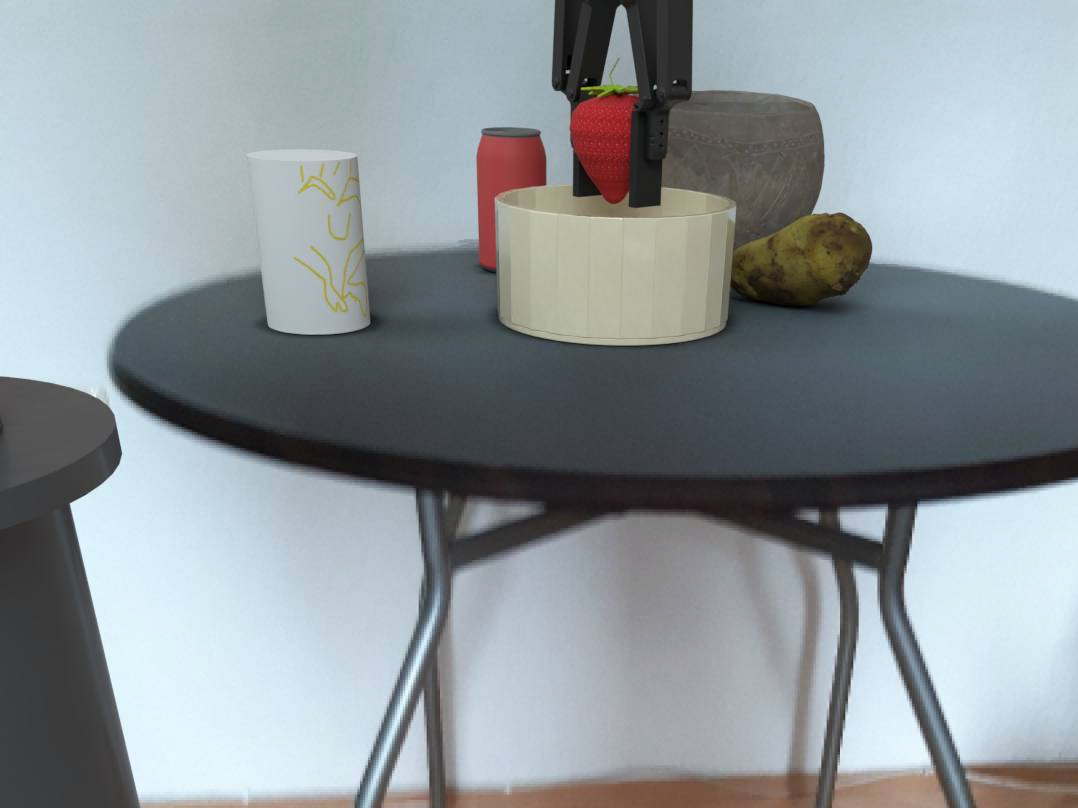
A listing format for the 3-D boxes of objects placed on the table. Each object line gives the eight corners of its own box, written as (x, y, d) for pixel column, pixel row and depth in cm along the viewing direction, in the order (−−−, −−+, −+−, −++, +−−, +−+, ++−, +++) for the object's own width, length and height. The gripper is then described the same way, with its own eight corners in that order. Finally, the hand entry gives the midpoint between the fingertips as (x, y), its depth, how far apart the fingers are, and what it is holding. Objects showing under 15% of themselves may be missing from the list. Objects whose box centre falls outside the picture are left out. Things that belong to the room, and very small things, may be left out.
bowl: (755, 298, 108) (772, 108, 100) (564, 270, 117) (565, 94, 109) (843, 265, 123) (864, 97, 115) (668, 242, 132) (676, 85, 124)
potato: (785, 290, 112) (794, 195, 107) (878, 318, 103) (893, 216, 98) (713, 298, 108) (720, 200, 103) (803, 328, 99) (815, 222, 94)
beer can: (466, 267, 117) (461, 128, 111) (518, 260, 121) (516, 125, 114) (507, 278, 113) (505, 134, 107) (560, 270, 117) (561, 131, 110)
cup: (322, 339, 92) (304, 164, 85) (246, 324, 95) (223, 154, 88) (391, 320, 97) (379, 155, 91) (316, 307, 101) (300, 146, 94)
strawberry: (672, 208, 94) (679, 59, 88) (580, 210, 92) (582, 58, 87) (647, 198, 99) (653, 56, 93) (559, 200, 97) (560, 54, 91)
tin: (599, 357, 89) (602, 225, 84) (453, 311, 101) (448, 193, 96) (774, 325, 100) (786, 206, 95) (623, 286, 112) (626, 178, 107)
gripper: (764, -175, 78) (734, 212, 91) (580, -156, 90) (576, 184, 103) (682, -187, 74) (662, 220, 87) (500, -166, 86) (506, 189, 99)
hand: (615, 200), depth 95 cm, fingers closed on strawberry, 6 cm apart
